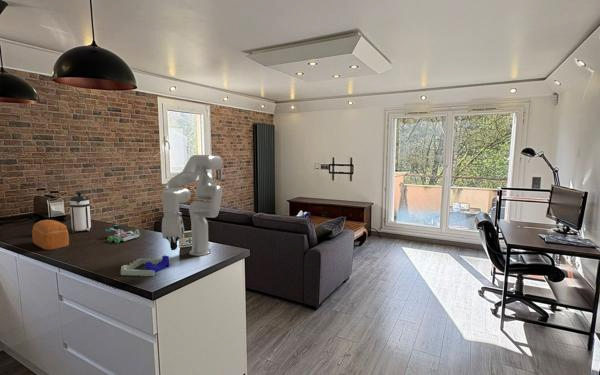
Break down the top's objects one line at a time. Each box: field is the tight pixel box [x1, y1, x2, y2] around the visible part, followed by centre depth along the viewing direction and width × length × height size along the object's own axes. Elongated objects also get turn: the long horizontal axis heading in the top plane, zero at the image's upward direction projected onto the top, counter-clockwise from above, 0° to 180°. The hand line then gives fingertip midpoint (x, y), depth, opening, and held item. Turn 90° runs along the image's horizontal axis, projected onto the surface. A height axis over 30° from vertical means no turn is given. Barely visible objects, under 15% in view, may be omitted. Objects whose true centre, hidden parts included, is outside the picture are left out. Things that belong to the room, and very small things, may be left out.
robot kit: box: [104, 224, 141, 244], centre depth 224 cm, size 19×25×9 cm
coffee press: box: [68, 191, 92, 234], centre depth 244 cm, size 17×16×30 cm
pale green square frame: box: [120, 258, 171, 277], centre depth 166 cm, size 17×17×4 cm
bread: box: [31, 219, 70, 250], centre depth 208 cm, size 14×26×16 cm, turn 53°
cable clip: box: [145, 255, 170, 274], centre depth 165 cm, size 12×4×6 cm, turn 156°
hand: (173, 249), depth 165 cm, fingers closed
